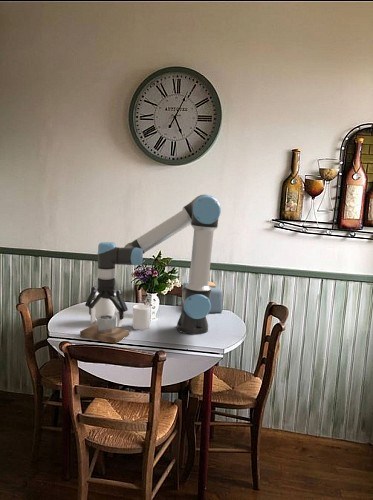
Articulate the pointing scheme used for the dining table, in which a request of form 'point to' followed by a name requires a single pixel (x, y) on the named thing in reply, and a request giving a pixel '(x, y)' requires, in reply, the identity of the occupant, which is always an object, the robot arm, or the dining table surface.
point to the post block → (104, 334)
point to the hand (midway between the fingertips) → (106, 324)
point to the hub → (106, 324)
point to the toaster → (215, 299)
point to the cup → (141, 317)
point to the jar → (104, 307)
